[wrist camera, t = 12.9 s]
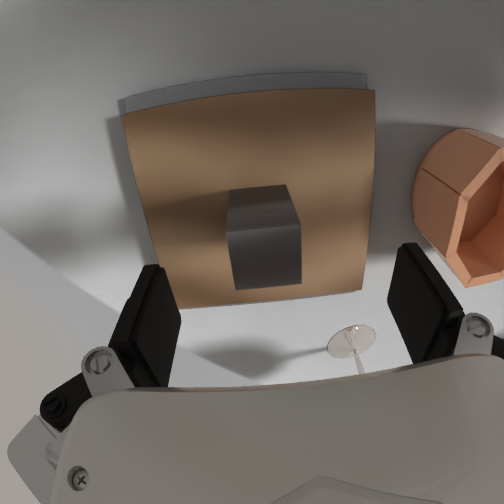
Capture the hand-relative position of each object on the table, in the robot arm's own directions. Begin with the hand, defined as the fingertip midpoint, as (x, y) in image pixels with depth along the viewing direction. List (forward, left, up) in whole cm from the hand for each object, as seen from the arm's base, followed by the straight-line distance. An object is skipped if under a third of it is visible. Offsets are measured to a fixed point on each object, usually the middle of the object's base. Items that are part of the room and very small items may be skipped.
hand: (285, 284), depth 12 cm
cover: (0, -1, -8) cm, 8 cm away
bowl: (0, +15, -9) cm, 18 cm away
